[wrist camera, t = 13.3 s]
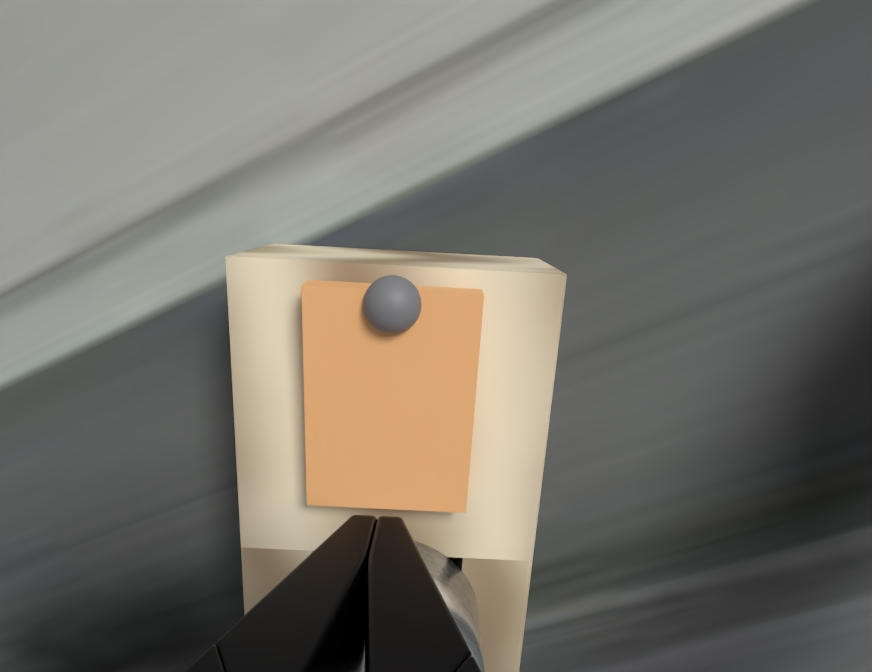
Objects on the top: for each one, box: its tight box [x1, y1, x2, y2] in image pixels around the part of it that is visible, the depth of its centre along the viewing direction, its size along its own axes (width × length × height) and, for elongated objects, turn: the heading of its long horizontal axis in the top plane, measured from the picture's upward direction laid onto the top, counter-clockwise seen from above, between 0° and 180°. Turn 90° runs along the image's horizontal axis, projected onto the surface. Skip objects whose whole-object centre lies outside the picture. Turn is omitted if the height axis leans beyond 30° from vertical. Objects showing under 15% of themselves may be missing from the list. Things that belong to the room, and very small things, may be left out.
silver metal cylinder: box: [361, 541, 484, 672], centre depth 18 cm, size 7×7×8 cm
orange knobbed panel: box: [301, 275, 484, 513], centre depth 15 cm, size 7×5×2 cm
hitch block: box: [225, 244, 567, 672], centre depth 19 cm, size 10×16×4 cm, turn 177°
